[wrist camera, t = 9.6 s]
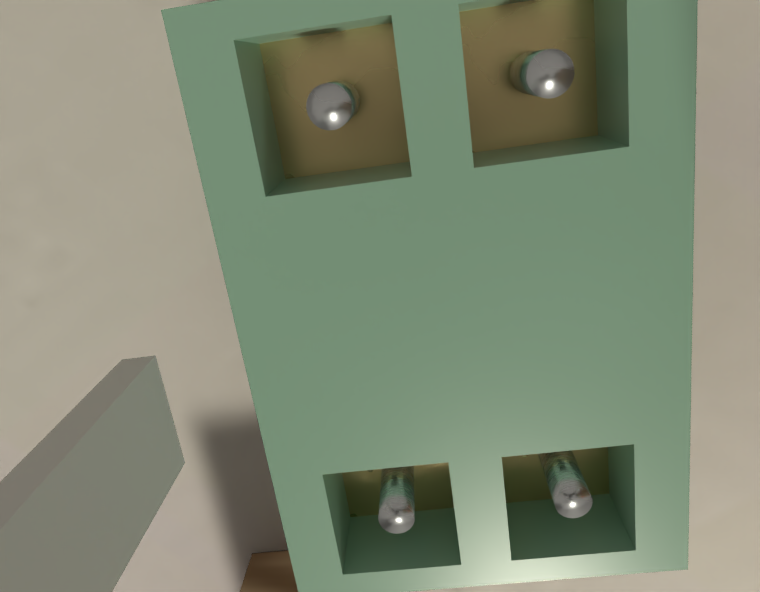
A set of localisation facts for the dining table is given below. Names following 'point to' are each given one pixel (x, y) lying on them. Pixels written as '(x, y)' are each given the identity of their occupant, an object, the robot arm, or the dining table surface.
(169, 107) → the dining table surface
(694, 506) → the dining table surface
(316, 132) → the chassis
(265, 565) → the brown rectangular block
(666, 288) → the board
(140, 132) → the dining table surface
